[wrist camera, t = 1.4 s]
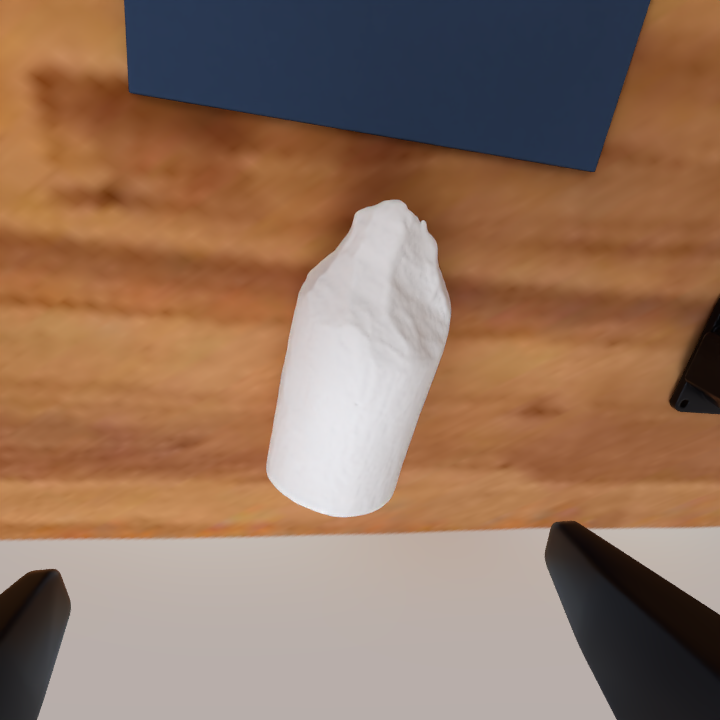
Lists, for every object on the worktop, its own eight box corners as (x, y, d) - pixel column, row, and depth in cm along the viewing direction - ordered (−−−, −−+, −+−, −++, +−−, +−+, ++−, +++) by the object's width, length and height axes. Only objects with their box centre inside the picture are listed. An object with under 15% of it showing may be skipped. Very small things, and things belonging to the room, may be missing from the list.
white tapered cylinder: (455, 210, 19) (515, 231, 14) (383, 447, 23) (409, 527, 18) (314, 175, 18) (323, 184, 12) (267, 433, 22) (259, 515, 17)
